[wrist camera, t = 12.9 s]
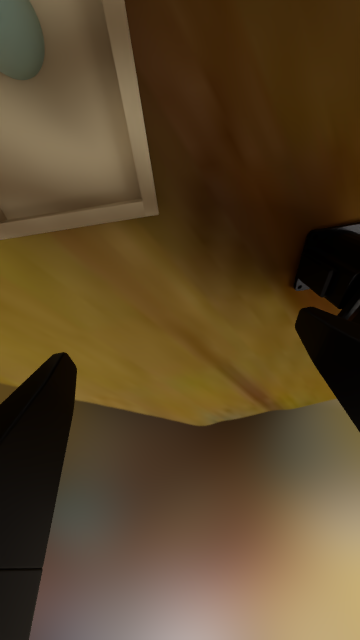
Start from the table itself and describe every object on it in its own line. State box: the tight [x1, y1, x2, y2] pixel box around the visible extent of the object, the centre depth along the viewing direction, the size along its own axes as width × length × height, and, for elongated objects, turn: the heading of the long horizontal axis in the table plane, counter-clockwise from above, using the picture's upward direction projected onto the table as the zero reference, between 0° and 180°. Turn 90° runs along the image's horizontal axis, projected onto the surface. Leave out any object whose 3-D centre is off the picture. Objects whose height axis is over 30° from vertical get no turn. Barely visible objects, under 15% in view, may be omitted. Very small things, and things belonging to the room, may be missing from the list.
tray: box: [0, 0, 159, 240], centre depth 10 cm, size 18×12×2 cm, turn 6°
